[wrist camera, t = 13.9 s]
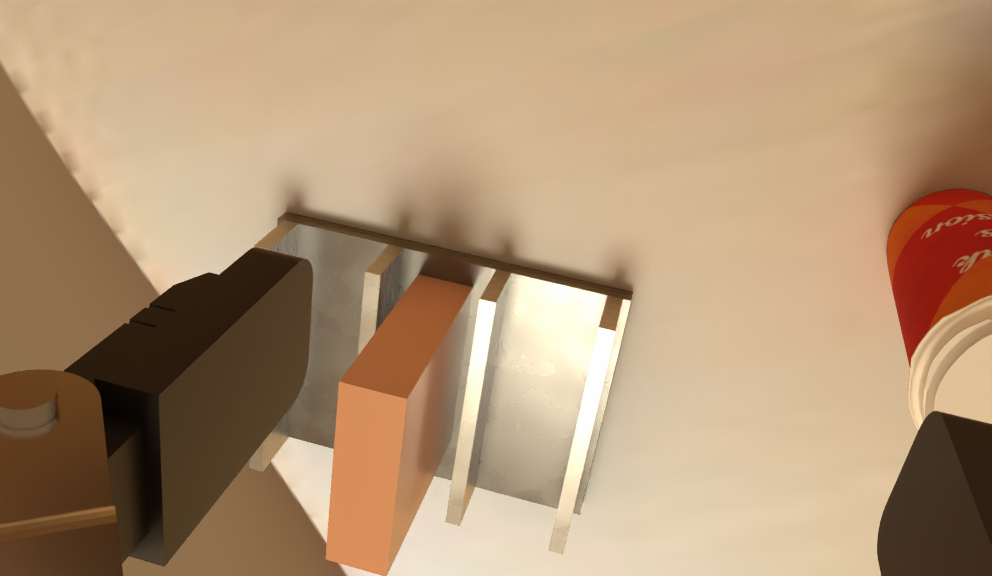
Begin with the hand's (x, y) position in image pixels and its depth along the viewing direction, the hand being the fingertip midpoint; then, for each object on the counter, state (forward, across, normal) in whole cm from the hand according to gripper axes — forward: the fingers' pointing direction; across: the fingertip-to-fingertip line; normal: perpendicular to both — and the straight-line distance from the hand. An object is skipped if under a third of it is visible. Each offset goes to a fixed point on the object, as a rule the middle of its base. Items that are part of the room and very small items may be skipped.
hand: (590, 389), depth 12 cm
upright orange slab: (+31, +9, +20) cm, 38 cm away
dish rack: (+32, +9, +21) cm, 39 cm away
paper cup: (+32, -14, +8) cm, 36 cm away
